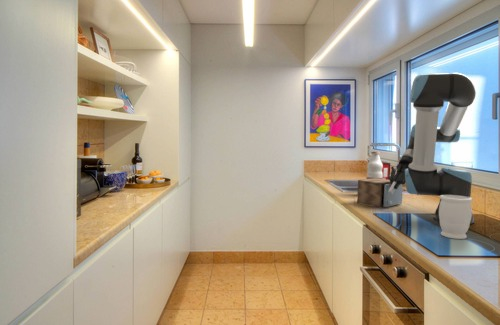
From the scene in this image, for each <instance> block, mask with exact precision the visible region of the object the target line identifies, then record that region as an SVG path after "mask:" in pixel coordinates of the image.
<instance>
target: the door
mask: <svg viewBox="0 0 500 325" xmlns="http://www.w3.org/2000/svg"><path fill="white" fill-rule="evenodd" d="M390 185H391V184H386V185H384V207H383V208H388V207H391V206H392V207H393V206H396V205H400V204H402V203H403V190H404V189H403V187H404V184H403V185H402V184H400V185H399V187H398V189H396V190H395V191H394V193H393V195H390V193H389V192H388V191H389V189H390Z"/></svg>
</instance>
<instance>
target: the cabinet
mask: <svg viewBox="0 0 500 325" xmlns="http://www.w3.org/2000/svg"><path fill="white" fill-rule="evenodd" d="M386 184H391V182H390V180H387V179H379V178H372V179H367V178H366V179H365V178H364V179H358V180H357V199H356V200H357V201H356V203H357V204H359V205H365V206H370V207H375V208H379V209H381V208H385V207H384V185H386Z"/></svg>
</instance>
